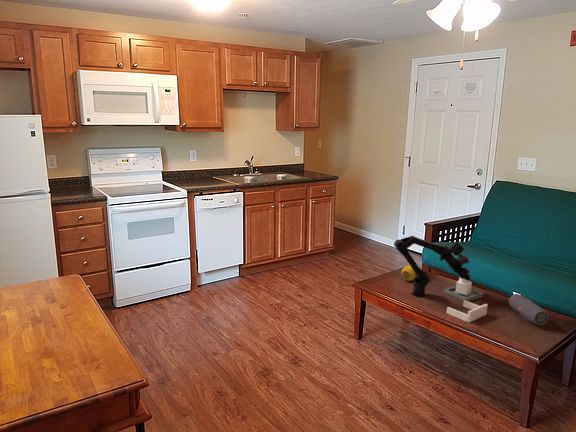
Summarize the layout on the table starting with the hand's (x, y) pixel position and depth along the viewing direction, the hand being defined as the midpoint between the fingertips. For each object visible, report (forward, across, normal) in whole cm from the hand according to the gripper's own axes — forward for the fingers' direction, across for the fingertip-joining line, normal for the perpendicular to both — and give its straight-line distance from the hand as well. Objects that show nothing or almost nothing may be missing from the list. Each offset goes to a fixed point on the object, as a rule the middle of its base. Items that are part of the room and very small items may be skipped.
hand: (466, 278), depth 265 cm
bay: (+1, -26, +15) cm, 30 cm away
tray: (+7, 0, +9) cm, 11 cm away
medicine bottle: (+6, 0, +8) cm, 10 cm away
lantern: (-10, +26, +27) cm, 39 cm away
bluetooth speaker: (+23, -31, -7) cm, 39 cm away
